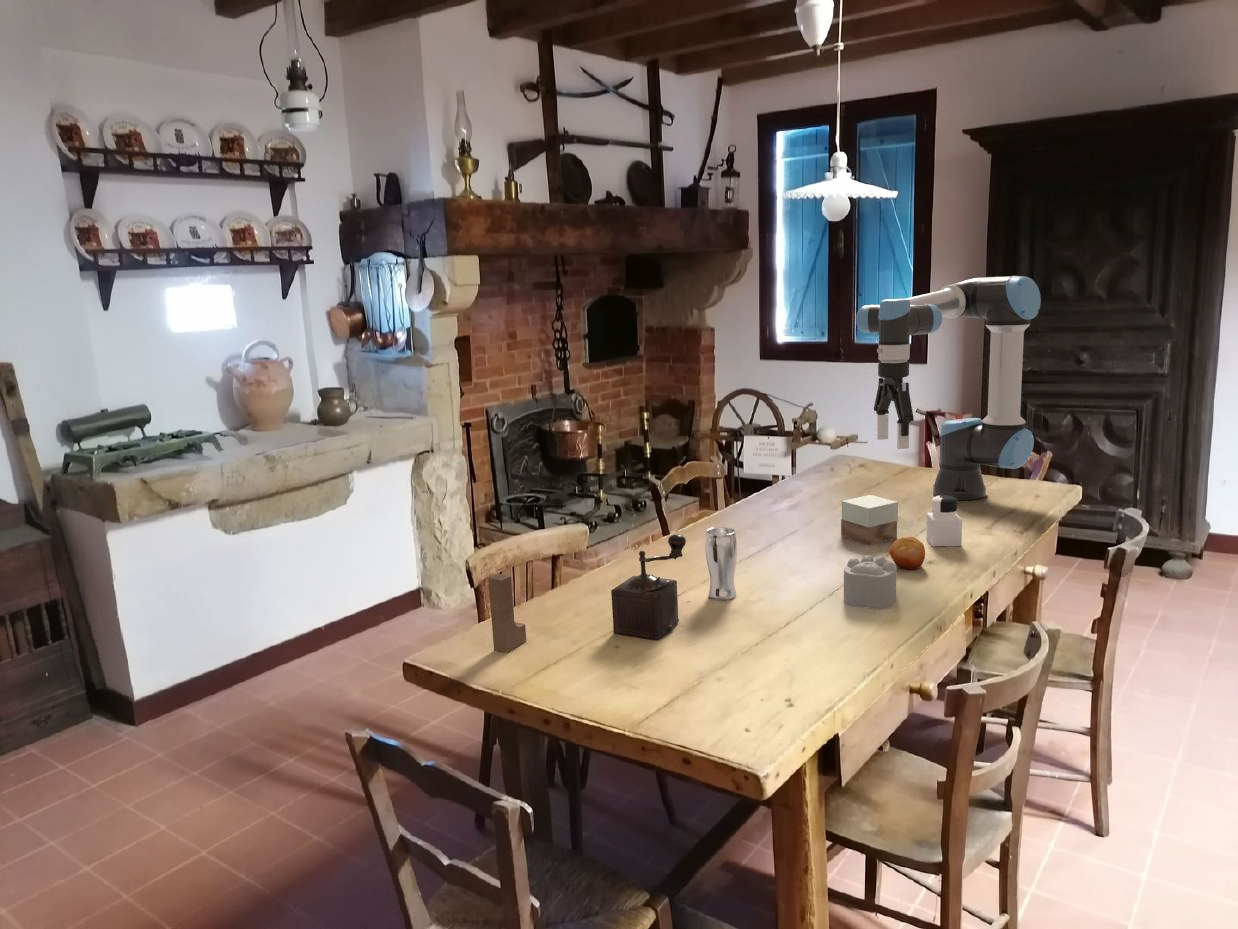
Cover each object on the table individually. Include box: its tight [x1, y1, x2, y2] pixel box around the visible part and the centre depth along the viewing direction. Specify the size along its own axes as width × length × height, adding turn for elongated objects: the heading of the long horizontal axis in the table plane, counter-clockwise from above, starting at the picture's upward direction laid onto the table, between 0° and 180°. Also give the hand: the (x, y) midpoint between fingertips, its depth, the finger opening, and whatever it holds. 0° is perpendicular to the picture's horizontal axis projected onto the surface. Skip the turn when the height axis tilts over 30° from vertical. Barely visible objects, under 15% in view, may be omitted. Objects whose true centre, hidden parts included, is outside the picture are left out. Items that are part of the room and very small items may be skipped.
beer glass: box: [704, 526, 738, 601], centre depth 203 cm, size 7×7×15 cm
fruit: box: [888, 536, 926, 570], centre depth 217 cm, size 8×8×8 cm
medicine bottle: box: [925, 495, 963, 548], centre depth 232 cm, size 7×7×12 cm
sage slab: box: [841, 494, 899, 527], centre depth 240 cm, size 10×10×5 cm
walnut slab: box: [840, 518, 898, 546], centre depth 241 cm, size 10×10×5 cm
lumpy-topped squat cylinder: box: [843, 554, 898, 610], centre depth 198 cm, size 10×13×9 cm
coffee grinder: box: [610, 534, 687, 641], centre depth 188 cm, size 16×11×18 cm
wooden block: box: [487, 573, 527, 654], centre depth 181 cm, size 7×3×15 cm, turn 149°
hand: (892, 443), depth 236 cm, fingers open, 13 cm apart
